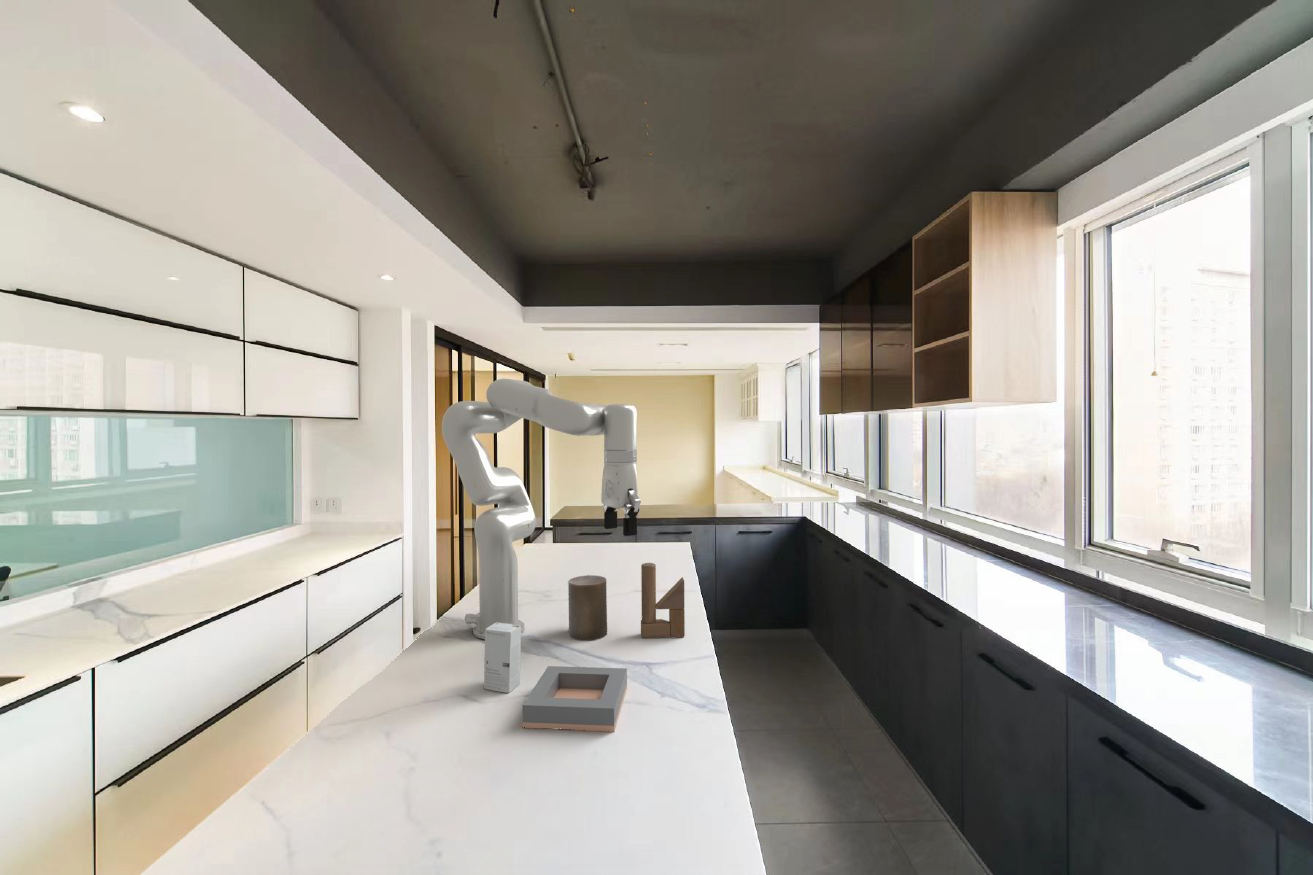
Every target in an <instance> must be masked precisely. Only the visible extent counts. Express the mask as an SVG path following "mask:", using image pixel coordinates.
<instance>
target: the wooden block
mask: <svg viewBox="0 0 1313 875" xmlns="http://www.w3.org/2000/svg"><path fill="white" fill-rule="evenodd" d="M656 566H657V565H656V563H654V562H643V563H642V564H641V567H640V569H641V574H640V575H641V578H640V580H641V583H640V584H641V585H640V586H641V591H640V592H641V619H640V637H641V639H658V638H659V639H660V638H661V639H663V638H671V637H675V638H685V636H686V634H685V633H686V632H685V631H686V630H685V629H686V628H685V626H686V625H685V624H686V623H685V622H686V621H685V620H686V618H685V616H686V615H685V579H684V577H683V576H682V577H681V578H680V579H679V580H678V581H676V583H675V584H674V585H673V586H672V587H671V588H670V589H669V590H668V591H667V592H666V593H665V594H664V595H663V597H661V598H660V599H659V600H658V602H657V578H656V577H657V574H656V573H657V569H656V568H657V567H656ZM657 610H668V616H669V617H668V618H669V619H668V620H666V619H663V618H658V619H657Z"/></svg>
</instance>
